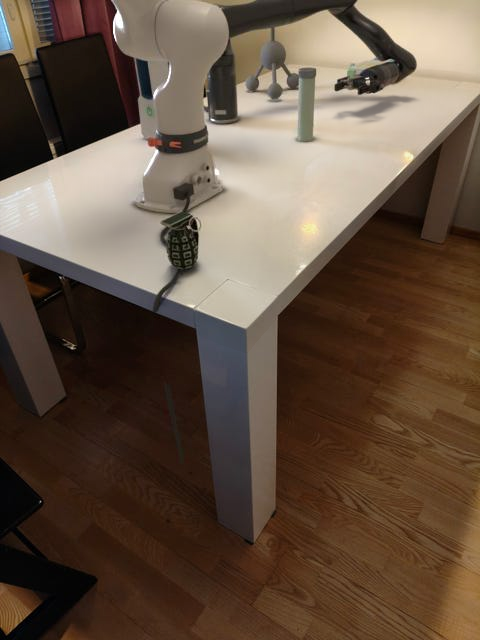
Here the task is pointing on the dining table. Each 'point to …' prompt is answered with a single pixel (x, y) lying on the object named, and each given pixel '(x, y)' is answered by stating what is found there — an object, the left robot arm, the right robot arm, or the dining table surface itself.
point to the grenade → (182, 240)
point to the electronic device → (149, 92)
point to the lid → (307, 72)
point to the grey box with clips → (363, 66)
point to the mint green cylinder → (306, 108)
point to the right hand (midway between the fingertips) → (347, 89)
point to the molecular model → (273, 68)
